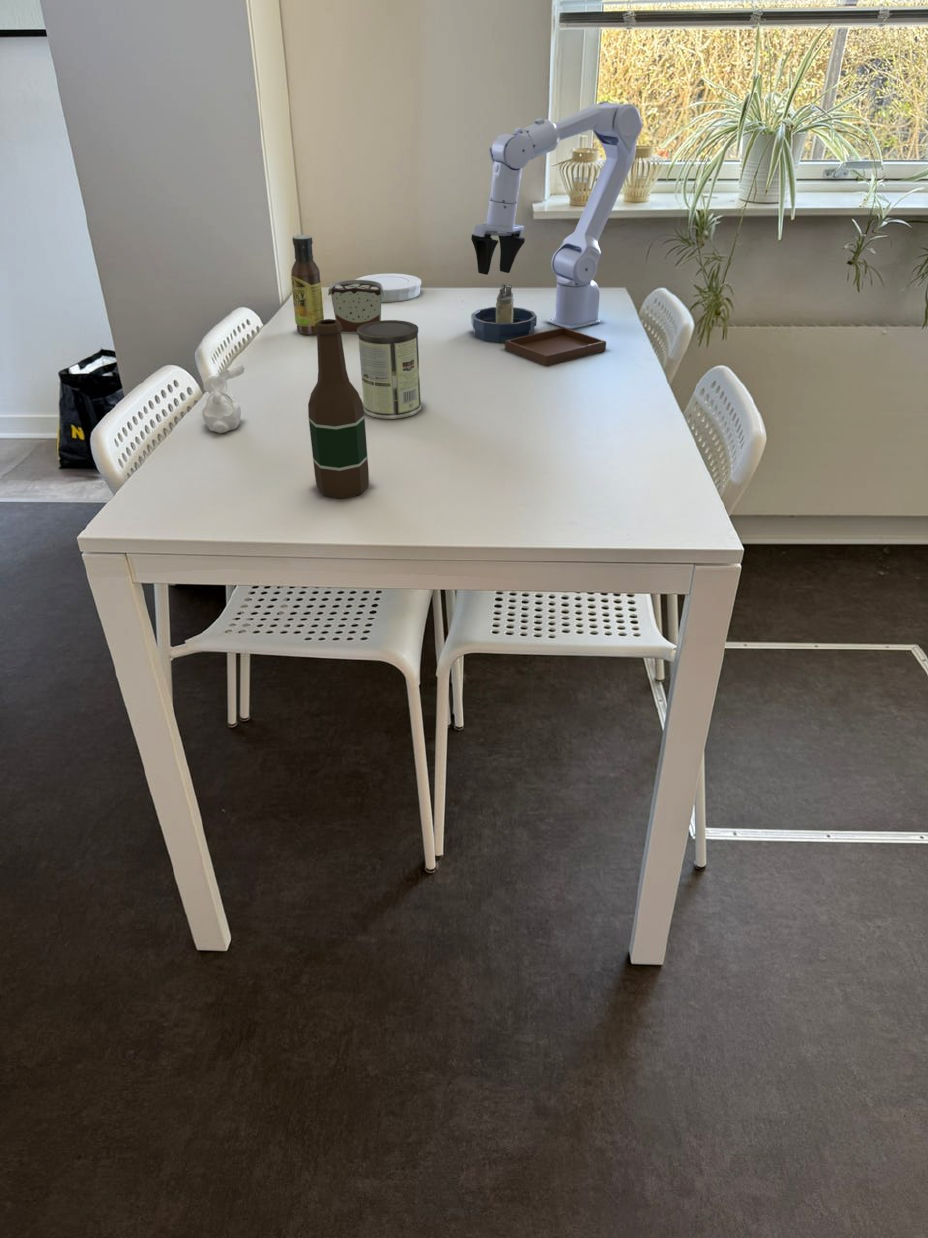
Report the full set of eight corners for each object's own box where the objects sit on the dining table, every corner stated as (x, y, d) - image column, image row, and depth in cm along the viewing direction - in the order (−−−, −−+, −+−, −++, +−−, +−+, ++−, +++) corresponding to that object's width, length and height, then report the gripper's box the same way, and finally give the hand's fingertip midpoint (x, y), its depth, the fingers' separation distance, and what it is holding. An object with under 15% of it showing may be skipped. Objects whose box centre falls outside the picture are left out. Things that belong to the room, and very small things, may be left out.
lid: (330, 295, 223) (329, 282, 221) (392, 281, 234) (392, 270, 233) (373, 308, 212) (372, 295, 211) (435, 293, 224) (435, 281, 222)
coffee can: (377, 395, 162) (372, 317, 155) (429, 402, 160) (427, 322, 152) (353, 415, 154) (346, 333, 146) (408, 422, 152) (404, 339, 144)
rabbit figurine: (208, 412, 156) (199, 357, 151) (252, 409, 157) (244, 355, 152) (203, 438, 146) (193, 380, 141) (250, 435, 147) (241, 378, 142)
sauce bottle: (292, 330, 197) (281, 234, 186) (317, 326, 200) (308, 231, 189) (304, 337, 193) (293, 240, 182) (330, 333, 196) (321, 236, 185)
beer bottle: (317, 477, 133) (300, 314, 120) (369, 475, 134) (357, 312, 120) (314, 500, 127) (295, 330, 113) (369, 498, 127) (357, 328, 114)
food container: (391, 325, 200) (388, 279, 195) (386, 333, 195) (383, 286, 190) (337, 324, 201) (333, 278, 196) (331, 332, 196) (327, 285, 191)
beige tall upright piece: (510, 338, 191) (511, 290, 186) (493, 338, 192) (493, 289, 186) (513, 329, 197) (514, 282, 192) (496, 328, 198) (497, 281, 192)
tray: (563, 336, 193) (563, 326, 192) (605, 350, 184) (606, 341, 183) (504, 349, 185) (504, 340, 184) (546, 366, 176) (546, 356, 175)
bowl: (508, 321, 203) (508, 303, 200) (548, 335, 193) (548, 316, 191) (459, 331, 196) (459, 313, 194) (498, 346, 187) (498, 327, 184)
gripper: (508, 199, 186) (499, 267, 193) (465, 197, 176) (457, 270, 182) (535, 204, 183) (525, 274, 189) (494, 203, 172) (484, 277, 179)
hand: (493, 272), depth 186 cm, fingers open, 7 cm apart
